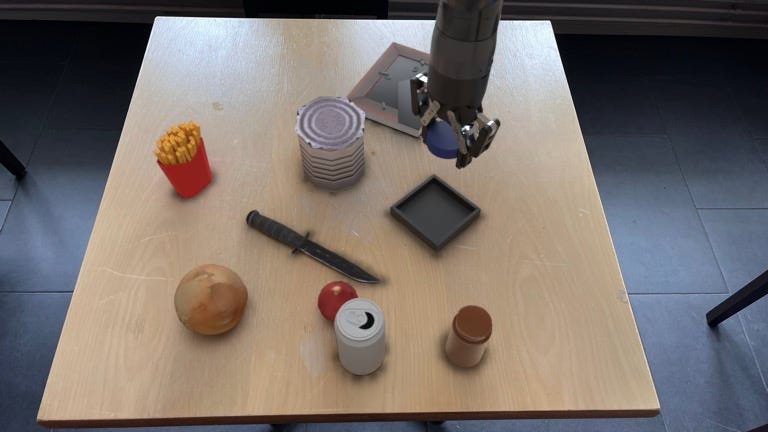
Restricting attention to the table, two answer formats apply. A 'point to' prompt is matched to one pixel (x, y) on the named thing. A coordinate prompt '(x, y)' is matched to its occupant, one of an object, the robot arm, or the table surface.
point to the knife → (307, 246)
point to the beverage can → (360, 335)
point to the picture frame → (392, 88)
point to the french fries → (184, 159)
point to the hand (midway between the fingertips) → (445, 153)
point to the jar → (468, 336)
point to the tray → (435, 212)
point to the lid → (442, 141)
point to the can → (331, 142)
